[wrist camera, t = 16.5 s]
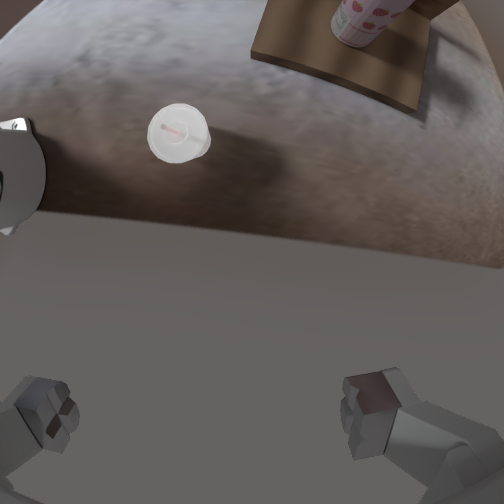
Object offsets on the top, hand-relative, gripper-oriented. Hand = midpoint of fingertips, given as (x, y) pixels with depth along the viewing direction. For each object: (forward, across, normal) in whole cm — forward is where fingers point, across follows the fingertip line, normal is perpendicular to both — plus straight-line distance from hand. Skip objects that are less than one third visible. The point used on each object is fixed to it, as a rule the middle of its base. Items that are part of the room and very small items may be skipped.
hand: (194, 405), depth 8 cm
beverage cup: (+33, +5, -10) cm, 35 cm away
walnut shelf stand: (+33, -16, -25) cm, 45 cm away
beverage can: (+30, -16, -24) cm, 42 cm away
